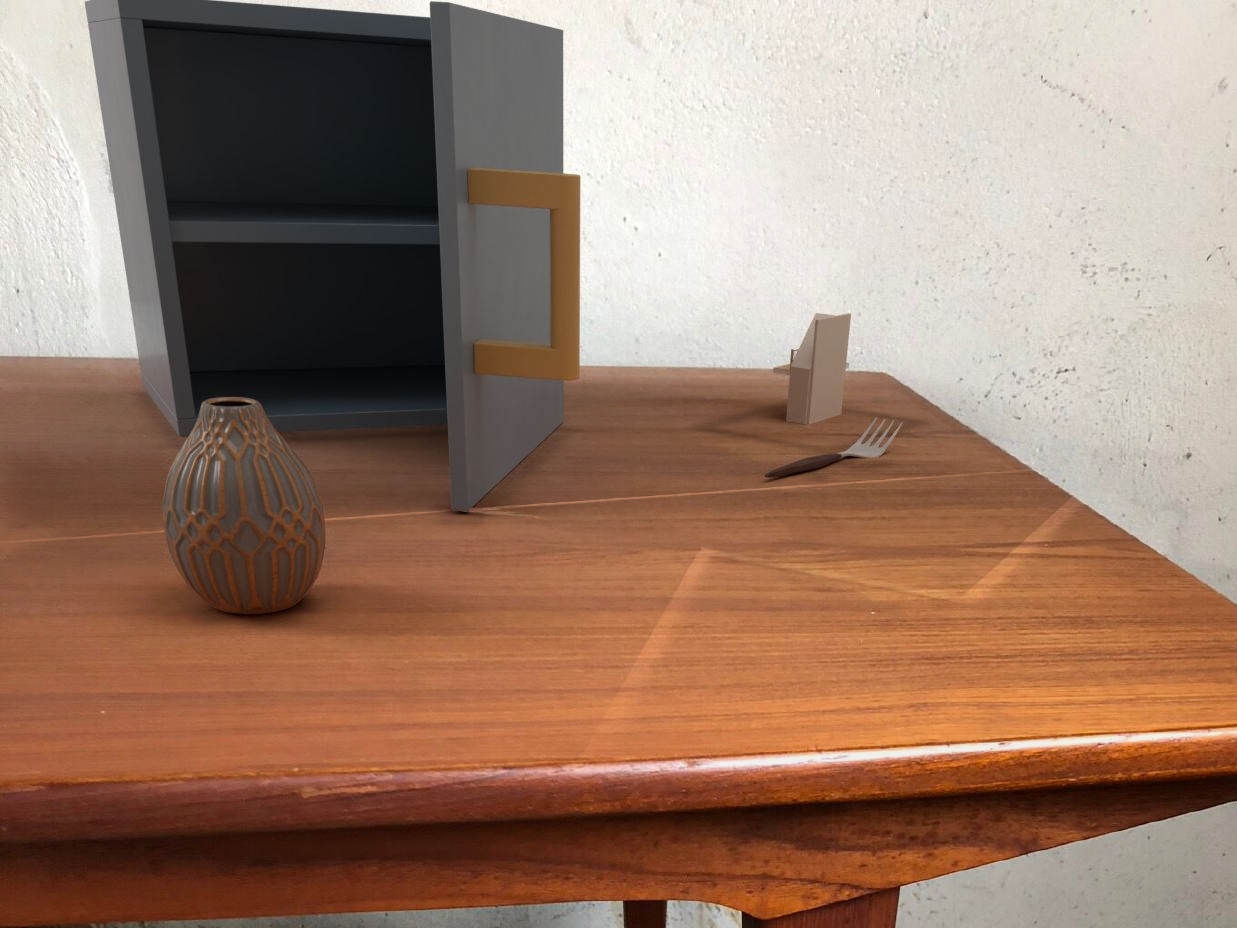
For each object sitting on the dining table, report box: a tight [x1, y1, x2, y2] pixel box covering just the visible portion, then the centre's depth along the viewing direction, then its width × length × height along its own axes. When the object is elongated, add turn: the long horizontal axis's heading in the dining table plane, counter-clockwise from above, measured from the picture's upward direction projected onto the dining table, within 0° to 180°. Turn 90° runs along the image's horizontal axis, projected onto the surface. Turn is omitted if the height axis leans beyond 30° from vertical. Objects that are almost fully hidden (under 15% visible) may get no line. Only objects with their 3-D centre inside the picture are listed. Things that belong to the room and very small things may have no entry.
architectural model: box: [772, 312, 852, 425], centre depth 105 cm, size 3×7×7 cm, turn 148°
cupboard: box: [84, 0, 448, 438], centre depth 96 cm, size 18×26×24 cm
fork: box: [764, 416, 904, 479], centre depth 93 cm, size 3×16×2 cm, turn 144°
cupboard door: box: [429, 0, 581, 512], centre depth 83 cm, size 7×26×24 cm, turn 173°
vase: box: [162, 397, 326, 615], centre depth 61 cm, size 7×7×9 cm
